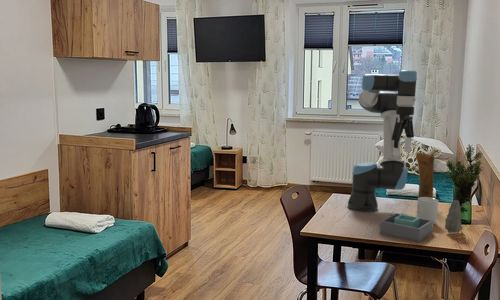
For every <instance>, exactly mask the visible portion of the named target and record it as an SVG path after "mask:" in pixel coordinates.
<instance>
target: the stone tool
mask: <svg viewBox="0 0 500 300" xmlns="http://www.w3.org/2000/svg"><path fill="white" fill-rule="evenodd" d="M461 208H462V205H460V201H459V200H458V199H454V200H453V201H452V202H451V204H450V206H449V209H448V214H447V215H446V218H445V225H444V229H445V230H446V231H447V233H449V234H451V233H454V234H455V233H457V234H458V233H460V232H462V231H463V226H462V225H463V224H462V222H461V221H462V219H461V217H462V212H461Z"/></svg>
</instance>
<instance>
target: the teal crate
mask: <svg viewBox="0 0 500 300" xmlns="http://www.w3.org/2000/svg"><path fill="white" fill-rule="evenodd" d="M419 222H420V218H418V217H417V216H413V215H407V214H401V215H399V216H397V217H395V218H394V223H395V224H400V225H405V226H410V227H415V228H419Z"/></svg>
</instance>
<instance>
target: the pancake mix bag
mask: <svg viewBox="0 0 500 300" xmlns="http://www.w3.org/2000/svg"><path fill="white" fill-rule="evenodd" d="M415 158H416V162H417V166H418V174H419V183H418V184H419V185H418V196H417V199H418V198H420V197H429V198H434V167H435V166H434V164H435V157H434V155H431V154H427V153H422V152H419V151H418V152H416V154H415Z"/></svg>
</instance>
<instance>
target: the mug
mask: <svg viewBox="0 0 500 300" xmlns="http://www.w3.org/2000/svg"><path fill="white" fill-rule="evenodd" d="M416 207H417V208H416V217H418V218H422V219H427V220H432V221H433V225H435V224H436V223H437V221H438V208H439V199H437V198H434V197H433V198H429V197H420V198H418V197H417V205H416Z"/></svg>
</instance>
